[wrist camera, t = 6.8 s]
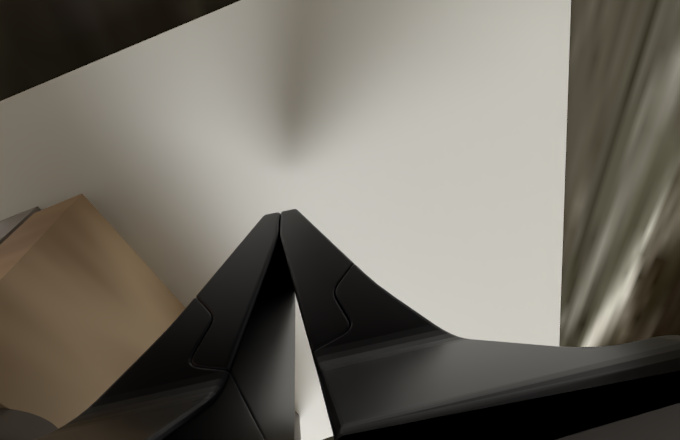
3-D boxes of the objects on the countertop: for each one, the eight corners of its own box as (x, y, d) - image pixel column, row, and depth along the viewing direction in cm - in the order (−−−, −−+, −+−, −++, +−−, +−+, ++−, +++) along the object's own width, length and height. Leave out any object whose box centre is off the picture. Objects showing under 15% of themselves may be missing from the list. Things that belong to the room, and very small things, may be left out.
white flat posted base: (548, 344, 19) (672, 503, 13) (250, 448, 20) (241, 641, 14) (551, -130, 8) (1235, -426, 2) (-93, 141, 9) (-750, 408, 3)
